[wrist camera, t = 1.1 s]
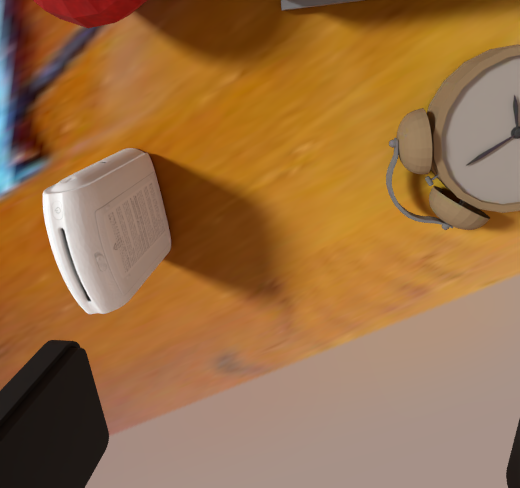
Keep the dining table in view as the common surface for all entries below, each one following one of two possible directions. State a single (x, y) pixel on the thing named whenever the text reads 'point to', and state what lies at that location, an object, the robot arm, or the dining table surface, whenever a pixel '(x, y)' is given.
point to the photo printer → (107, 229)
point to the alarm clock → (467, 141)
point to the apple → (90, 10)
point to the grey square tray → (309, 3)
